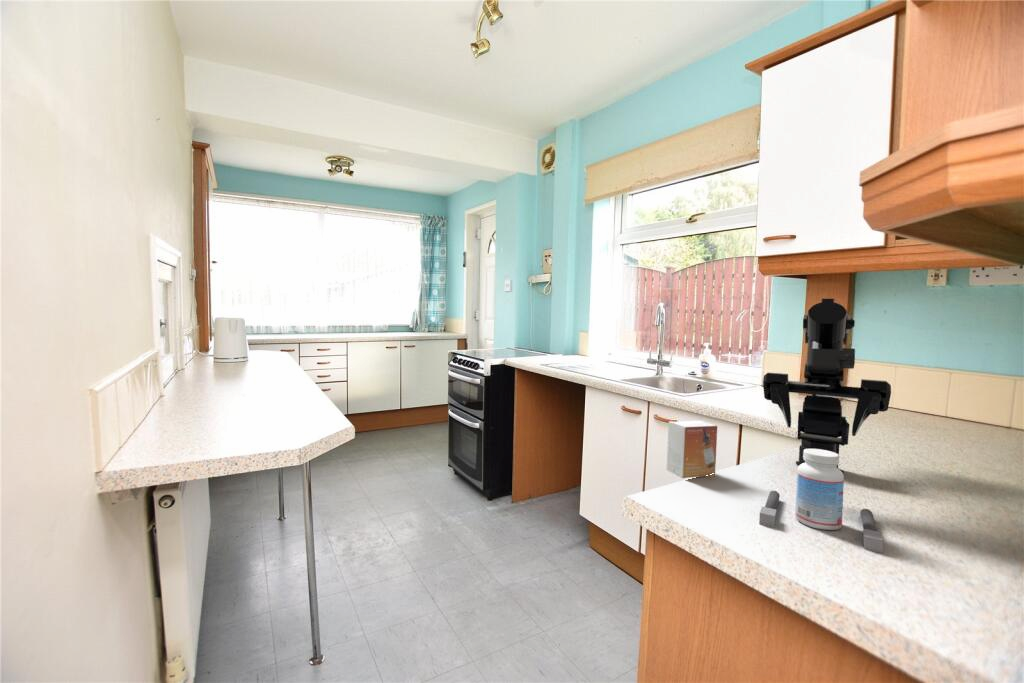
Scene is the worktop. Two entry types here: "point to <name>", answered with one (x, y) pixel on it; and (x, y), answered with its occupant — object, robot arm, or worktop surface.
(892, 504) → the worktop surface
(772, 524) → the grey block-tipped rod
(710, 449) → the small box
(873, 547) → the grey block-headed part
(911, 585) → the worktop surface
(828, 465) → the pill bottle
